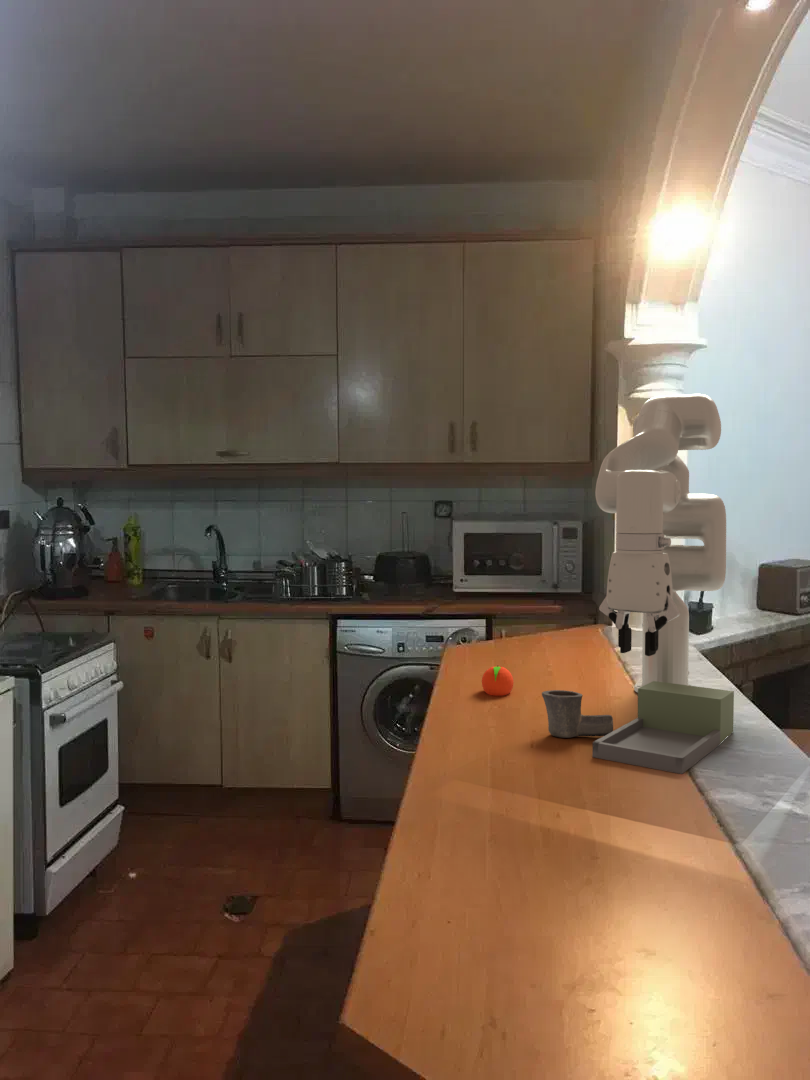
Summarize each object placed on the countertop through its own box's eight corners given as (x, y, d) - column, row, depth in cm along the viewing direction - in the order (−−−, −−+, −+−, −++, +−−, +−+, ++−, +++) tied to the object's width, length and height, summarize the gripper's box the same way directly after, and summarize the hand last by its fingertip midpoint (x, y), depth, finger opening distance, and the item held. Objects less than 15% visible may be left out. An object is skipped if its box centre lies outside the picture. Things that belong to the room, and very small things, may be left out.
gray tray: (653, 722, 164) (653, 681, 164) (733, 734, 155) (733, 691, 155) (592, 757, 142) (592, 709, 141) (682, 774, 133) (682, 723, 133)
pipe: (613, 743, 150) (613, 698, 150) (540, 739, 153) (540, 695, 152) (612, 734, 156) (613, 691, 156) (542, 730, 159) (542, 687, 158)
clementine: (511, 703, 180) (512, 670, 180) (479, 701, 181) (479, 668, 181) (514, 695, 188) (514, 663, 187) (483, 693, 189) (483, 661, 189)
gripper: (696, 544, 140) (695, 655, 141) (602, 542, 150) (601, 645, 151) (680, 546, 134) (679, 662, 135) (583, 543, 144) (582, 651, 145)
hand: (638, 652), depth 143 cm, fingers open, 3 cm apart
